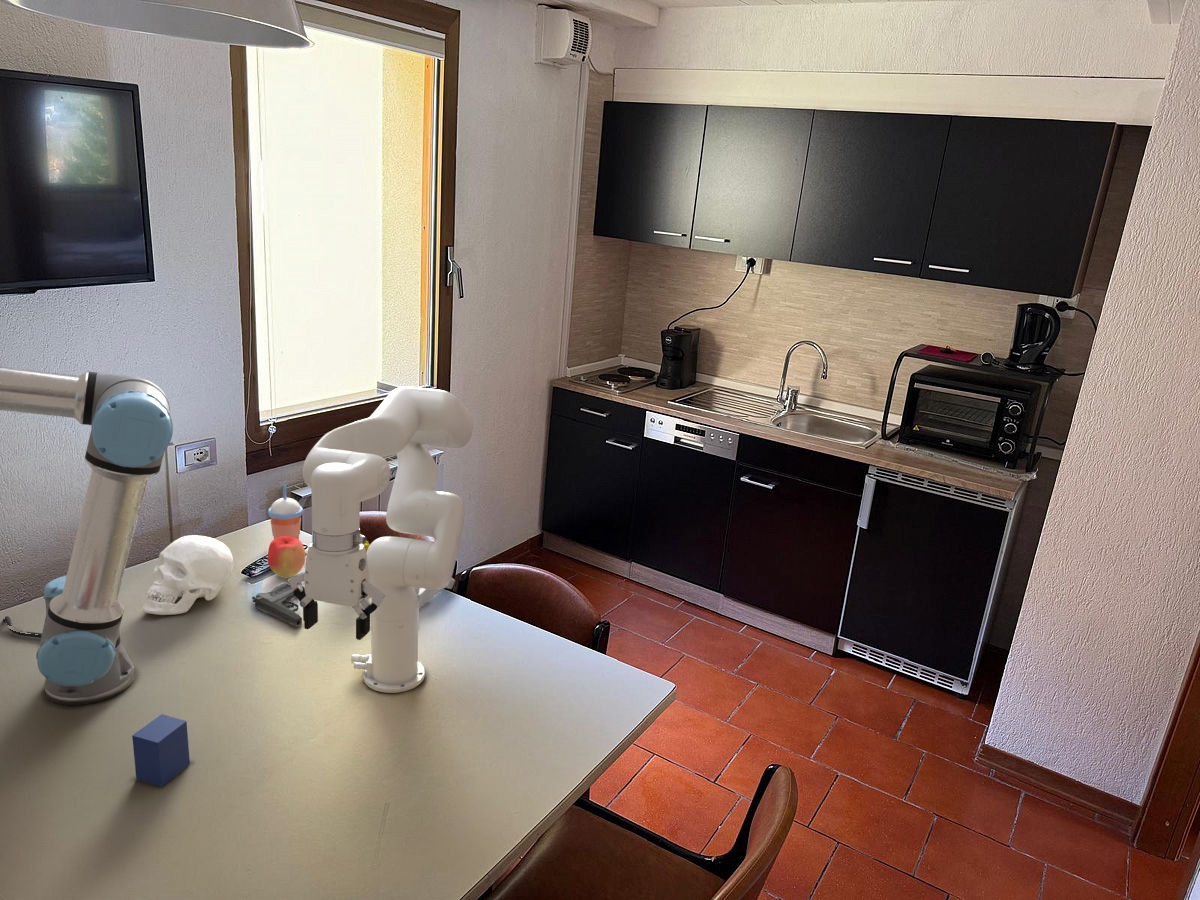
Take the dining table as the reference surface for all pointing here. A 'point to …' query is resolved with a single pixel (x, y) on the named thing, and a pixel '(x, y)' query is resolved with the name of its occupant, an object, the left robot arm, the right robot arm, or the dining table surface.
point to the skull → (188, 574)
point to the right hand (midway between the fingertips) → (336, 630)
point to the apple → (286, 556)
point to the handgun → (279, 604)
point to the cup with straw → (285, 516)
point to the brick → (161, 750)
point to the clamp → (429, 593)
